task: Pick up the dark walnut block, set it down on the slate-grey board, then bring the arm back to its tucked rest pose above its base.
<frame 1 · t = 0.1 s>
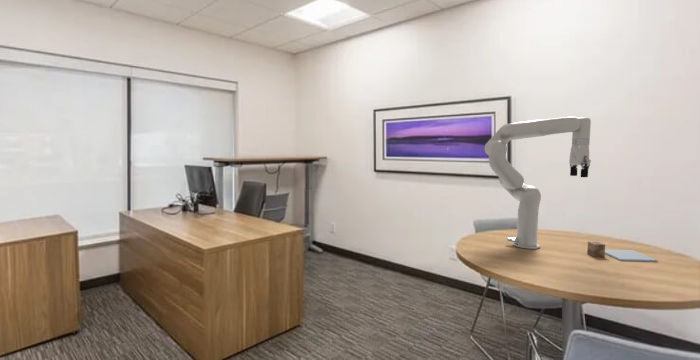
hand: (578, 176, 186), 36 cm above the table, fingers open, 9 cm apart
walnut block: (595, 255, 174), on the table
slate board: (626, 256, 173), on the table
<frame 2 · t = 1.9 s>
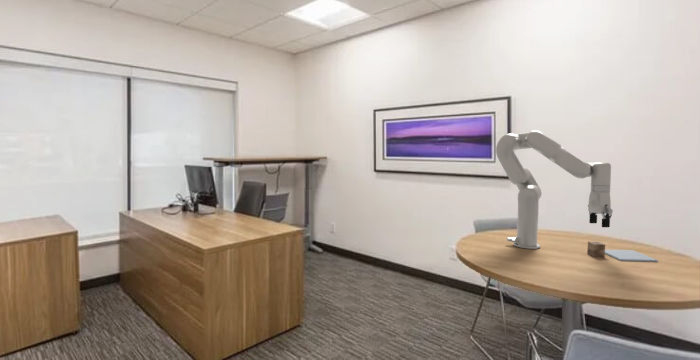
hand: (599, 225, 173), 15 cm above the table, fingers open, 9 cm apart
nothing on the table moved.
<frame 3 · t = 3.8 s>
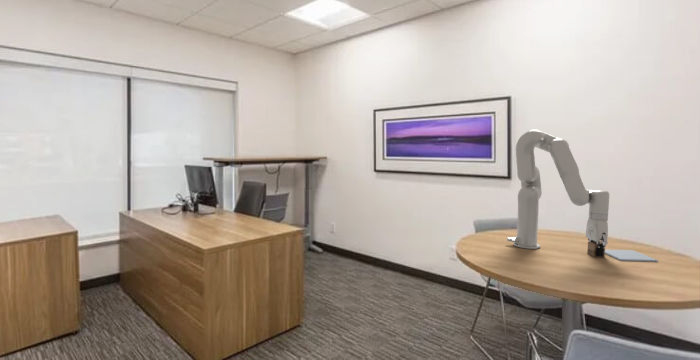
hand: (595, 253, 174), 1 cm above the table, fingers closed on walnut block, 5 cm apart
walnut block: (595, 255, 174), on the table, touching gripper
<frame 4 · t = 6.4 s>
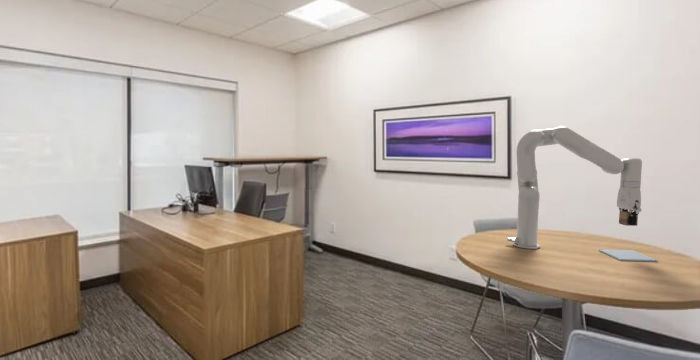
hand: (628, 223, 172), 16 cm above the table, fingers closed on walnut block, 5 cm apart
walnut block: (627, 224, 172), point 15 cm above the table, touching gripper
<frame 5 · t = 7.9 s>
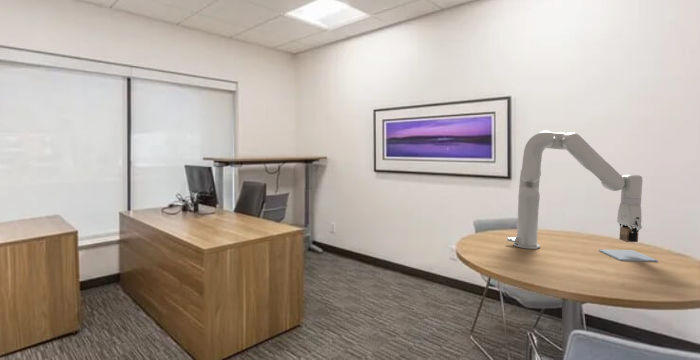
hand: (628, 239, 173), 8 cm above the table, fingers closed on walnut block, 5 cm apart
walnut block: (628, 240, 173), point 7 cm above the table, touching gripper
when the fingers open (3 cm above the table, at t = 9.3 s): walnut block drops 1 cm, resting on slate board.
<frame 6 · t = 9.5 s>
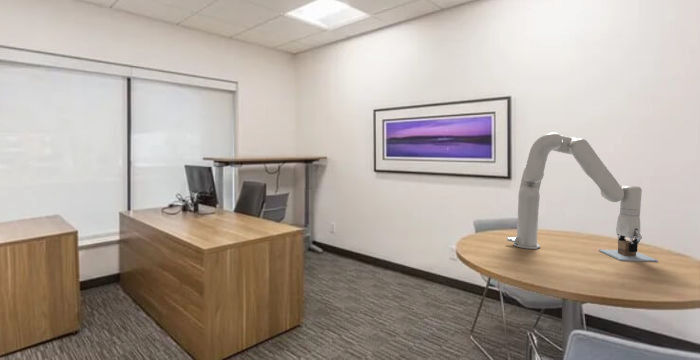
hand: (627, 249, 173), 3 cm above the table, fingers open, 7 cm apart
walnut block: (626, 254, 173), point 1 cm above the table, touching slate board
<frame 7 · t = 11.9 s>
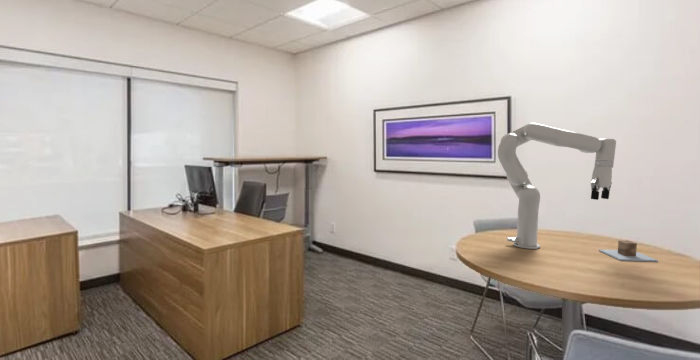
hand: (599, 199, 180), 26 cm above the table, fingers open, 9 cm apart
nothing on the table moved.
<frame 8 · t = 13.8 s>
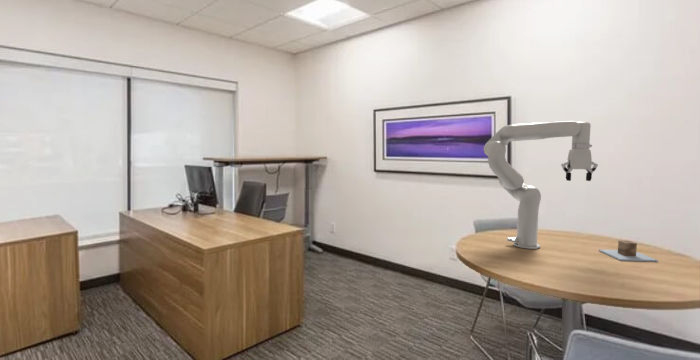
hand: (578, 180, 186), 34 cm above the table, fingers open, 9 cm apart
nothing on the table moved.
at the end: walnut block inside the target area on the slate board (0.1 cm from its centre), point 0.8 cm above the slate board's base; walnut block tilted 0°; the gripper is holding nothing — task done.
